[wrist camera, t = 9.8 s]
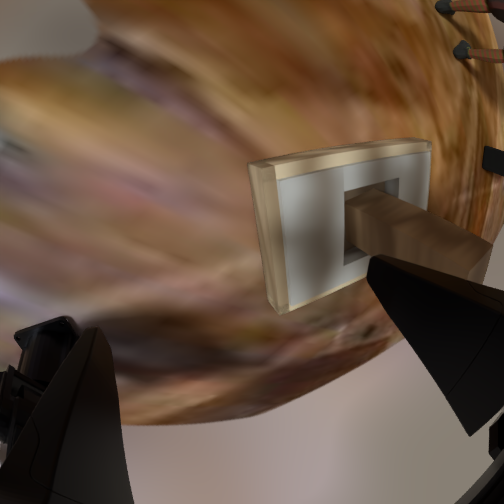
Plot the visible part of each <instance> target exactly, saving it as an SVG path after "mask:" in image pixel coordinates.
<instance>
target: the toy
mask: <svg viewBox="0 0 504 504" xmlns="http://www.w3.org/2000/svg"><path fill="white" fill-rule="evenodd" d="M435 8H436V10H437V11H438V12H441V13H448V14H451V15H453V14H455V11H464V12H477V13H492V14H493V16H494V17H496V18H497V19H498V20H500V21H502V22H503V23H504V0H461V1H454V2H452V1H451V0H440V1H438V2H437V3H436V4H435ZM453 54H454V56H455V57H456V58H458V59H465V58H468V59H471V58H473V59H479V60H483V61H487V62H492V63H504V50H501V49H471V46H470V45H469V44H468V43H467V42H466V41H465V40H461V42H460V44H459V45H457V46H456V47H455V48H454V50H453Z"/></svg>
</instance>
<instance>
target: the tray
mask: <svg viewBox="0 0 504 504" xmlns="http://www.w3.org/2000/svg"><path fill="white" fill-rule="evenodd" d="M247 166H248V172H249V178H250V185H251V191H252V198H253V204H254V211H255V217H256V224H257V231H258V237H259V244H260V251H261V257H262V264H263V271H264V278H265V284H266V291H267V298H268V301H269V302H270V304H271V305H272V306H273V308H274V309H275V310H276V311H277V313H278V314H279V315H282V314H285V313H287V312H290V311H292V310H294V309H297V308H299V307H301V306H303V305H306V304H308V303H310V302H313V301H315V300H317V299H319V298H321V297H324V296H326V295H328V294H330V293H332V292H335V291H337V290H339V289H341V288H343V287H345V286H347V285H349V284H351V283H354V282H356V281H358V280H360V279H362V278H364V277H366V274H367V269H368V264H369V260H370V258H371V256H370V255H368V254H367V253H365V252H364V251H362V250H361V249H359V248H358V247H356V246H355V245H353V244H351V243H350V242H348V241H347V240H346V230H345V220H344V201H346V200H349V199H351V198H353V197H355V196H358V195H360V194H362V193H364V192H367V191H369V190H371V189H376V190H379V191H381V192H384V193H386V194H389V195H391V196H394V197H396V198H399V199H401V200H403V201H406V202H408V203H410V204H413V205H415V206H417V207H419V208H422V209H424V210H426V211H427V207H428V197H429V186H430V171H431V141H428V140H424V139H419V138H415V137H412V138H400V139H389V140H380V141H371V142H363V143H355V144H348V145H341V146H334V147H328V148H322V149H316V150H310V151H304V152H299V153H293V154H288V155H283V156H278V157H273V158H268V159H264V160H259V161H255V162H250V163H247Z"/></svg>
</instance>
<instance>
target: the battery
mask: <svg viewBox="0 0 504 504" xmlns="http://www.w3.org/2000/svg"><path fill="white" fill-rule="evenodd" d="M482 167H483V168H484V169H486V170H488V171H491V172H494V173H496V174H499V175H501V176H504V151H501V150H499V149H496V148H492V147H489V146H485V147H484V155H483V163H482Z"/></svg>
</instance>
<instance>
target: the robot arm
mask: <svg viewBox="0 0 504 504" xmlns="http://www.w3.org/2000/svg"><path fill="white" fill-rule="evenodd" d="M366 279H367V282H368V284H369V285H370V287H371V288H372V290H373V291H374V293H375V295H376V296H377V298H378V299H379V301H380V303H381V304H382V306H383V308H384V309H385V311H386V312H387V314H388V315H389V317H390V318H391V319H392V321H393V322H394V323H395V325H396V326H397V327H398V329H399V330H400V332H401V333H402V334H403V336H404V337H405V338H406V340H407V341H408V343H409V344H410V345H411V347H412V348H413V350H414V351H415V353H416V354H417V355H418V357H419V358H420V360H421V361H422V363H423V364H424V366H425V367H426V369H427V370H428V372H429V373H430V375H431V376H432V377H433V379H434V380H435V382H436V383H437V385H438V387H439V388H440V390H441V391H442V393H443V394H444V396H445V398H446V400H447V401H448V403H449V404H450V406H451V407H452V409H453V411H454V412H455V414H456V416H457V417H458V419H459V421H460V422H461V424H462V426H463V428H464V429H465V431H466V433H467V434H468V436H472V435H473V434H474V433H475V432H476V431H478V430H479V429H480V428H481V427H482V426H483V425H485V424H486V423H487V422H488V421H489V420H490V419H491V418H492V417H493V416H494V415H495V414H496V413H497V412H498V411H500V409H501V410H502V412H501V413H500V415H499V416H498V417H497V419H496V420H495V421H494V422H493V424H492V425H491V426H490V427H489V454H490V456H491V457H492V458H493V460H494V462H493V463H492V464H491V465H490V466H489V468H488V469H487V470H486V471H485V472H484V474H483V475H482V476H481V477H480V478H479V479H478V480H477V481H476V482H475V484H474V485H473V486H472V487H471V488H470V489H469V490H468V491H467V492H466V493H465V494H464V495H463V496H462V497H461V498H460V499H459V500H458V501H457V502H456V503H455V504H504V291H503V290H499V289H496V288H492V287H488V286H485V285H482V284H478V283H475V282H472V281H469V280H465V279H463V278H460V277H456V276H453V275H450V274H447V273H444V272H440V271H437V270H434V269H431V268H427V267H424V266H421V265H417V264H414V263H411V262H407V261H404V260H401V259H397V258H394V257H390V256H387V255H383V254H377V255H374V256H372V257H371V258H370V260H369V264H368V269H367V274H366ZM60 322H62V323H64V324H61V323H60ZM14 339H15V341H16V342H17V343H18V345H19V346H20V347H21V349H22V353H21V357H20V361H19V365H18V369H17V370H15V368H14V367H12V366H11V365H9V366H8V368H7V371H3V372H0V441H1V444H0V464H1V467H0V504H134V500H133V496H132V491H131V486H130V481H129V476H128V471H127V465H126V459H125V452H124V447H123V438H122V429H121V420H120V409H119V398H118V391H117V385H116V379H115V373H114V366H113V358H112V351H111V348H110V345H109V343H108V342H107V340H106V338H105V336H104V334H103V332H102V330H101V329H100V328H99V327H91V328H87V329H86V330H85V331H84V332H83V334H82V335H81V336H80V337H79V336H77V335H76V333H75V332H74V330H73V329H72V327H71V326H70V324H69V323H68V321H67V320H66V319H65V318H64V317H59V318H56V319H53V320H50V321H47V322H44V323H41V324H38V325H35V326H32V327H29V328H26V329H23V330H20V331H17V332H15V335H14Z"/></svg>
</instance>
